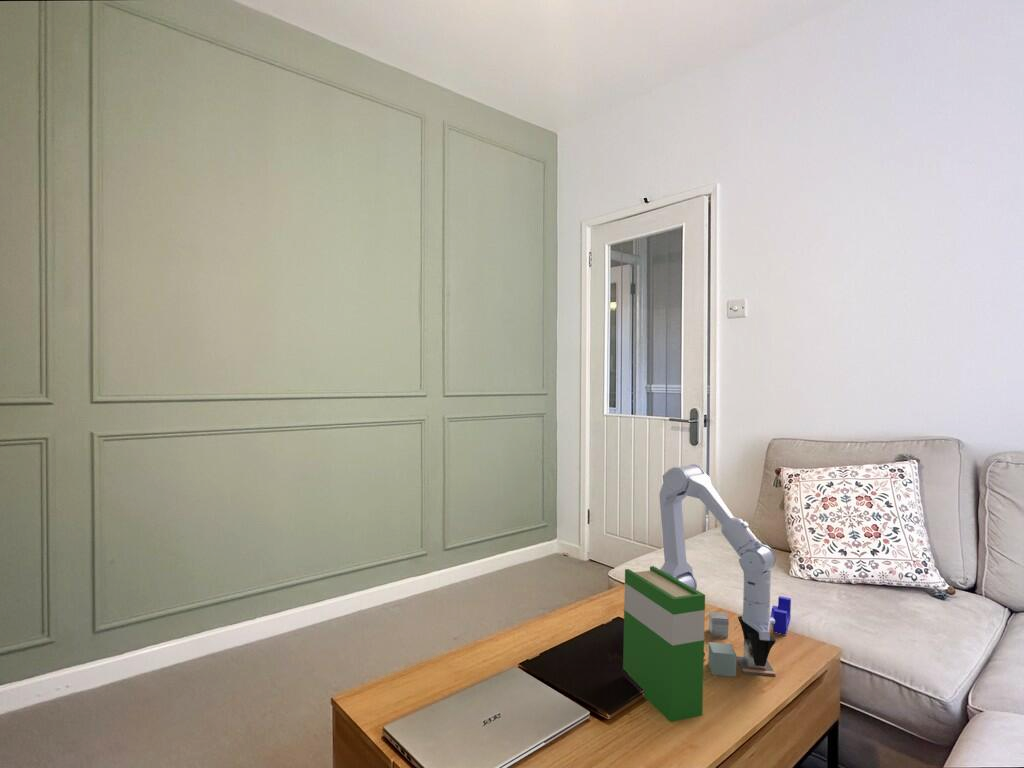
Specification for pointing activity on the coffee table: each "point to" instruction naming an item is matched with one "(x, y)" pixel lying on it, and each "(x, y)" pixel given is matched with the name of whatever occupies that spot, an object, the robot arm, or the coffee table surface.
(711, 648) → the block
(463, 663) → the coffee table surface
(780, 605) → the cable clip
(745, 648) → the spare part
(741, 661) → the pad
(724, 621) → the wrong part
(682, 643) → the hardback book
